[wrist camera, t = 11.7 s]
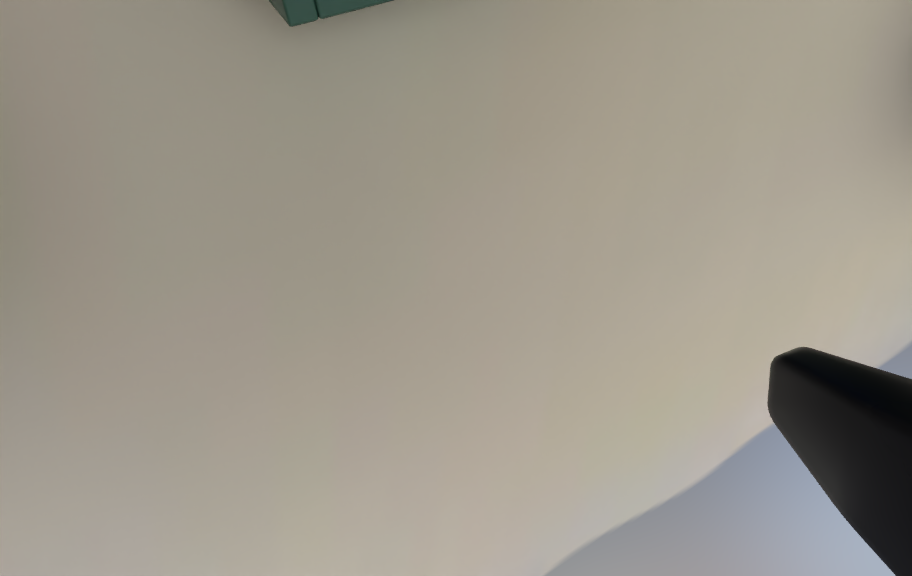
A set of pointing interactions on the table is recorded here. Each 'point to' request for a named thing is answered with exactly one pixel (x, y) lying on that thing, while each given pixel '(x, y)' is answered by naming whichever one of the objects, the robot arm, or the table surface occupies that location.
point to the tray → (317, 9)
